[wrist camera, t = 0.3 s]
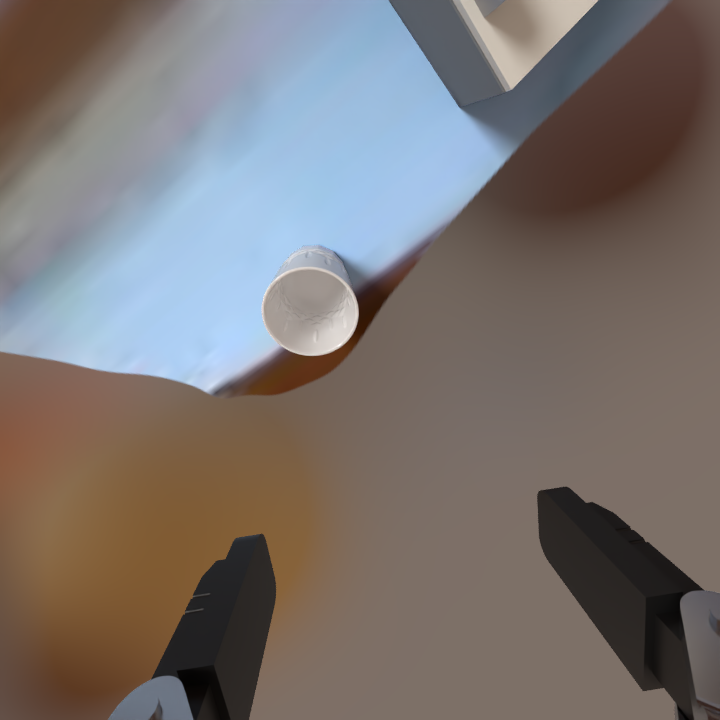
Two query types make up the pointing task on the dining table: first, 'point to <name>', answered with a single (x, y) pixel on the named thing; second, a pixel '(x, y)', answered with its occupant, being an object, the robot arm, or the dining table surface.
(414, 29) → the box
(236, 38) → the dining table surface
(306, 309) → the white cup
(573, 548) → the robot arm
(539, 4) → the panel
